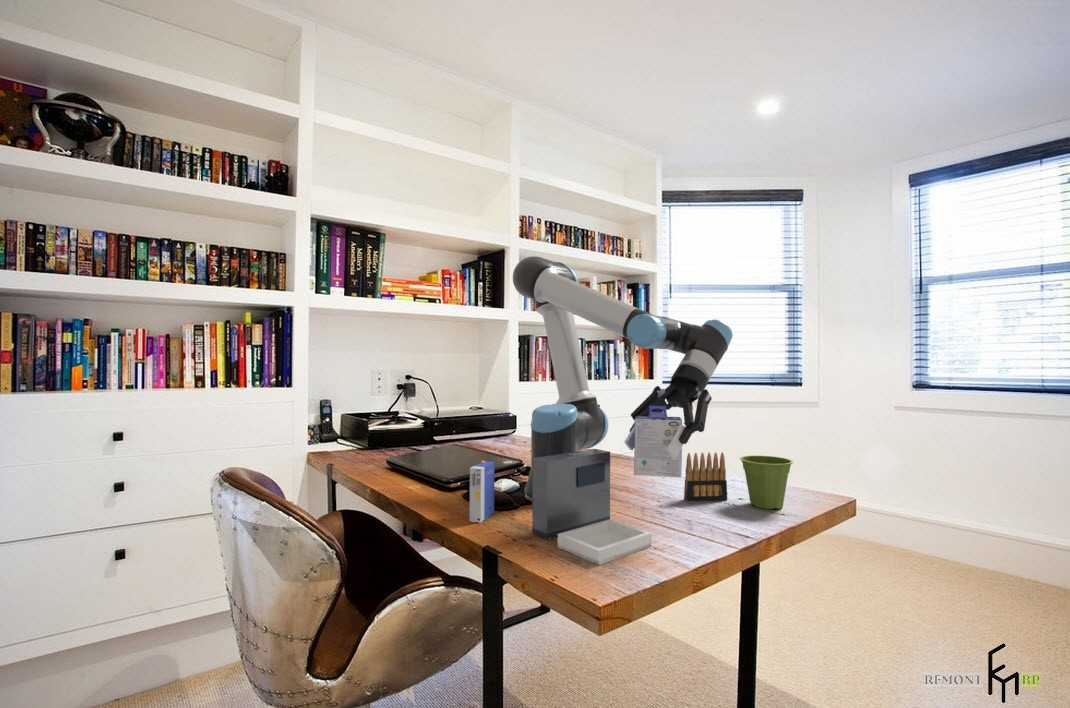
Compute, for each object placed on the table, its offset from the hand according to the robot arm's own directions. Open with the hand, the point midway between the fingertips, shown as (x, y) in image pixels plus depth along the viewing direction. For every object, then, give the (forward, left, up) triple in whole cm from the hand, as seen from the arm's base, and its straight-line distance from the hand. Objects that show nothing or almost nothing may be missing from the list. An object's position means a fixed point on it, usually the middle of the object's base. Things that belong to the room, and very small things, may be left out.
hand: (648, 450), depth 107 cm
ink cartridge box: (0, +3, -6) cm, 6 cm away
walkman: (-28, -23, -17) cm, 40 cm away
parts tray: (+2, -15, -16) cm, 22 cm away
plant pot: (+7, +36, -17) cm, 40 cm away
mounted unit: (-10, -12, -16) cm, 23 cm away
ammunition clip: (-5, +29, -17) cm, 34 cm away
